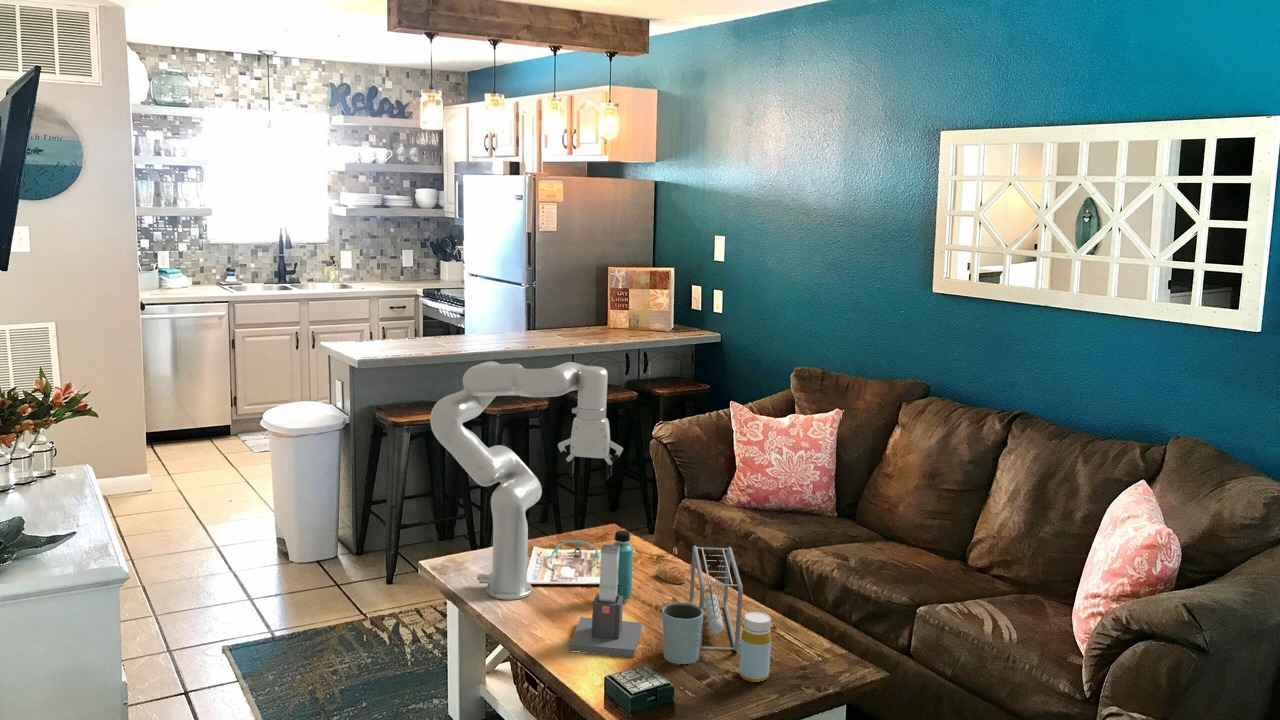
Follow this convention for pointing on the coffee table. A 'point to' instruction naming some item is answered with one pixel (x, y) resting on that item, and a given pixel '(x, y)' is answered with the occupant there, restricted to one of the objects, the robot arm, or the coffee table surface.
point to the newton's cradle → (712, 600)
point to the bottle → (755, 647)
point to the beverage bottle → (624, 564)
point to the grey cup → (681, 632)
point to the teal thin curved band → (575, 549)
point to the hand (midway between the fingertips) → (589, 476)
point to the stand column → (609, 574)
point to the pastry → (671, 573)
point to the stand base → (606, 631)
